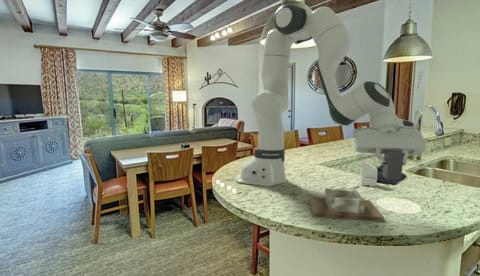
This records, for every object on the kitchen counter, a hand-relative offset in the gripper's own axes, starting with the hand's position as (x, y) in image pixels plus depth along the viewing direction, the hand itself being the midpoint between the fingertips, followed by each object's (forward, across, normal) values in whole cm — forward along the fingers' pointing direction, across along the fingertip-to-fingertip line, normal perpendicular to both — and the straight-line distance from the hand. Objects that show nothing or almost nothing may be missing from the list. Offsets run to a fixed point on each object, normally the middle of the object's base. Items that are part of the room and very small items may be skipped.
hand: (393, 163), depth 83 cm
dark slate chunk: (-19, +13, +42) cm, 48 cm away
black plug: (+3, 0, +4) cm, 4 cm away
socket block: (+11, -14, +12) cm, 21 cm away
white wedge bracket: (-10, +2, +33) cm, 34 cm away
